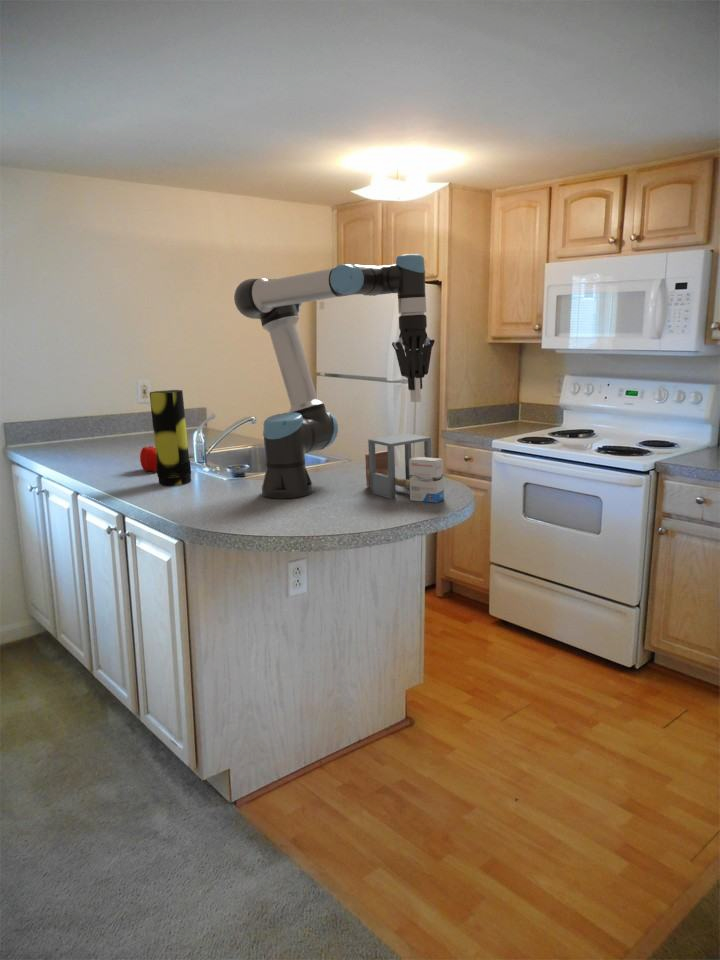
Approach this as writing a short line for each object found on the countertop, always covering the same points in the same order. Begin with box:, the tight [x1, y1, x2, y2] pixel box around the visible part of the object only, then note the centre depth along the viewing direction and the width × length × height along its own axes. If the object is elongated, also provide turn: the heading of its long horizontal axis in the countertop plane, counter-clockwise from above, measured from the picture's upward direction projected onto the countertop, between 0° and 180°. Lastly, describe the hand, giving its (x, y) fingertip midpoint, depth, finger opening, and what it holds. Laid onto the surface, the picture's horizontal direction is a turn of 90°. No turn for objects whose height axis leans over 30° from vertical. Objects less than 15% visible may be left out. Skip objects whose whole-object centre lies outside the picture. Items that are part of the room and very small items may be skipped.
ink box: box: [409, 456, 445, 504], centre depth 195 cm, size 8×5×12 cm, turn 56°
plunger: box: [364, 449, 410, 490], centre depth 208 cm, size 20×9×10 cm, turn 34°
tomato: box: [139, 446, 157, 473], centre depth 252 cm, size 11×12×9 cm
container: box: [149, 389, 192, 487], centre depth 229 cm, size 11×11×30 cm
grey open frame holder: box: [367, 433, 432, 500], centre depth 206 cm, size 11×14×16 cm
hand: (415, 401), depth 195 cm, fingers closed
